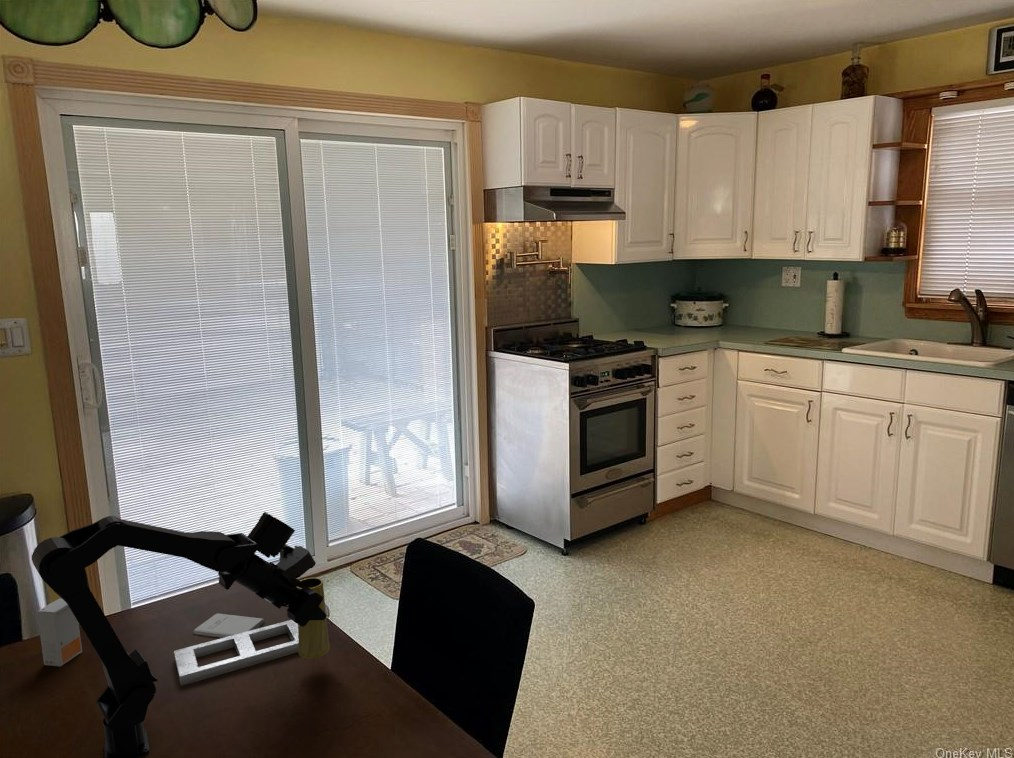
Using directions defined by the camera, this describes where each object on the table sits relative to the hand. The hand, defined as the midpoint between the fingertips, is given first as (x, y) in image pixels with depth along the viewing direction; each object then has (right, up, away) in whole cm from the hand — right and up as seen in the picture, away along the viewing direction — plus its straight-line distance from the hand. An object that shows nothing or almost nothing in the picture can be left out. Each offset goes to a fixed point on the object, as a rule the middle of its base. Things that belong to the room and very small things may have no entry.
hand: (318, 612), depth 145 cm
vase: (-1, -8, 0) cm, 8 cm away
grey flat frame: (-17, -11, +8) cm, 22 cm away
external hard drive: (-25, -10, +19) cm, 33 cm away
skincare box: (-55, -12, +8) cm, 57 cm away
